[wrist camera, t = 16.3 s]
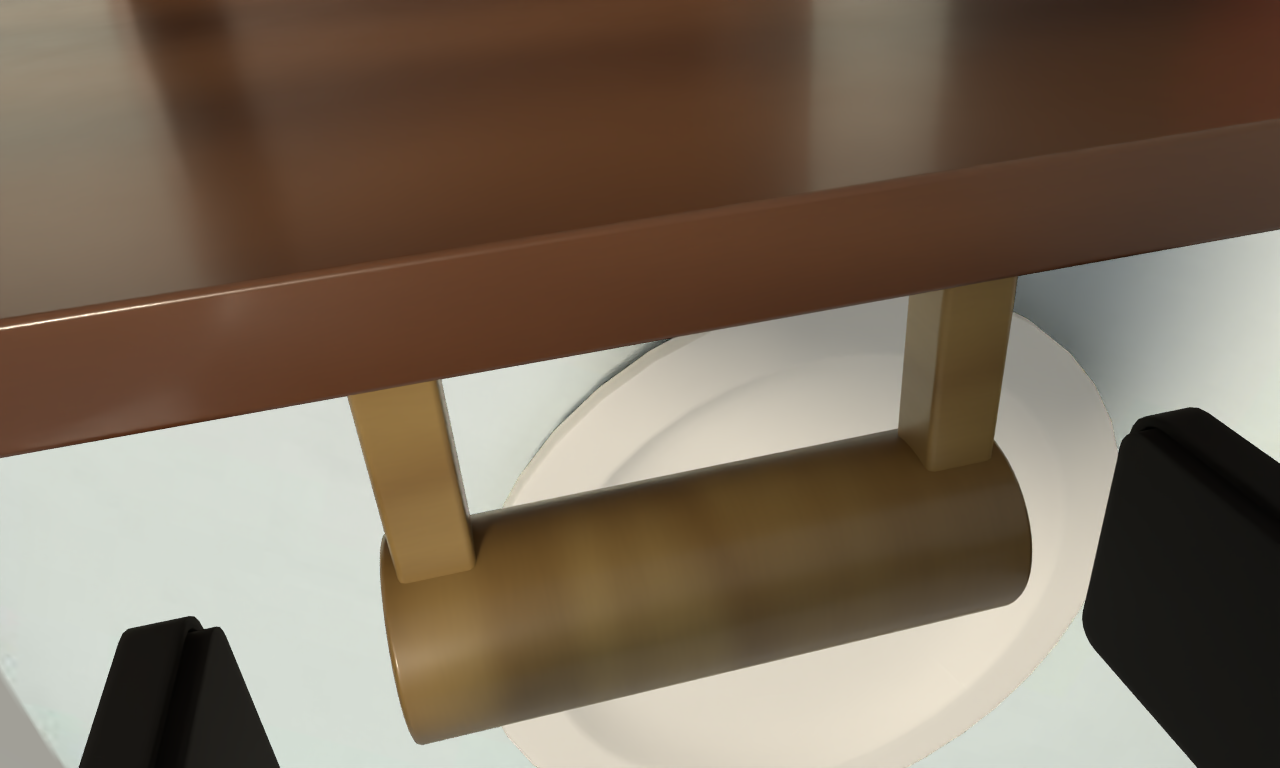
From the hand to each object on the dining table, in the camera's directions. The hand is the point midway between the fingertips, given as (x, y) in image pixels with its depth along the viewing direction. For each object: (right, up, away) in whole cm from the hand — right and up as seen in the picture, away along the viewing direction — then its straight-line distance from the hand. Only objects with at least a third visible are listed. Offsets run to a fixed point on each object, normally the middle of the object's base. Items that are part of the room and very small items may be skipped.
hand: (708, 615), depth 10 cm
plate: (+6, -5, +32) cm, 33 cm away
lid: (-2, +8, +4) cm, 9 cm away
